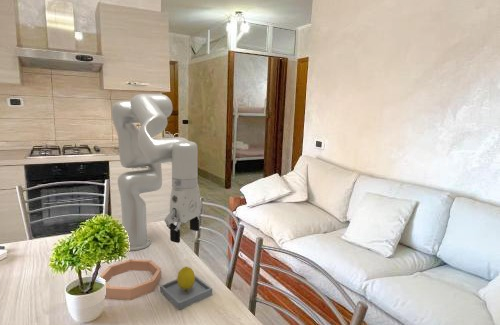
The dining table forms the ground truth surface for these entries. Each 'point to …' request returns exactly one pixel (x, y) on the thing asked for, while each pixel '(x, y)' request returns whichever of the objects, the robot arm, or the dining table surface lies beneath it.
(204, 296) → the tray
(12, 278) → the dining table surface
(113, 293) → the collar
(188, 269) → the lemon
